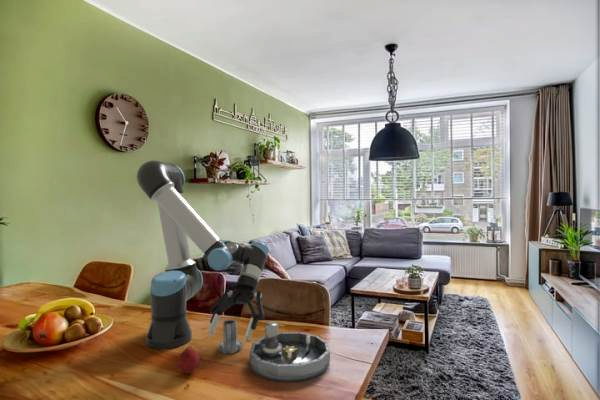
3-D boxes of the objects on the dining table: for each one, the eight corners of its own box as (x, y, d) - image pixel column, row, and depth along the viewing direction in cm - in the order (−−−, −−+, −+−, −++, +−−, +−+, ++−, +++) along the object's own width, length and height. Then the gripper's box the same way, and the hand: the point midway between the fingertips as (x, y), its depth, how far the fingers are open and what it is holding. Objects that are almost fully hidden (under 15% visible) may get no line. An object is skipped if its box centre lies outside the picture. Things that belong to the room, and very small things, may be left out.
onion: (193, 379, 100) (192, 350, 100) (174, 377, 101) (173, 349, 101) (203, 369, 105) (202, 342, 105) (185, 367, 106) (184, 340, 106)
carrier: (245, 383, 97) (244, 344, 97) (255, 345, 121) (254, 315, 121) (333, 381, 98) (333, 343, 97) (325, 344, 122) (325, 314, 121)
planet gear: (216, 354, 115) (216, 326, 115) (221, 344, 123) (221, 318, 123) (240, 353, 115) (239, 325, 115) (243, 343, 123) (243, 317, 123)
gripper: (283, 287, 130) (266, 345, 116) (222, 283, 138) (200, 336, 124) (277, 276, 125) (259, 335, 111) (215, 272, 133) (191, 326, 119)
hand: (228, 336), depth 117 cm, fingers open, 13 cm apart
